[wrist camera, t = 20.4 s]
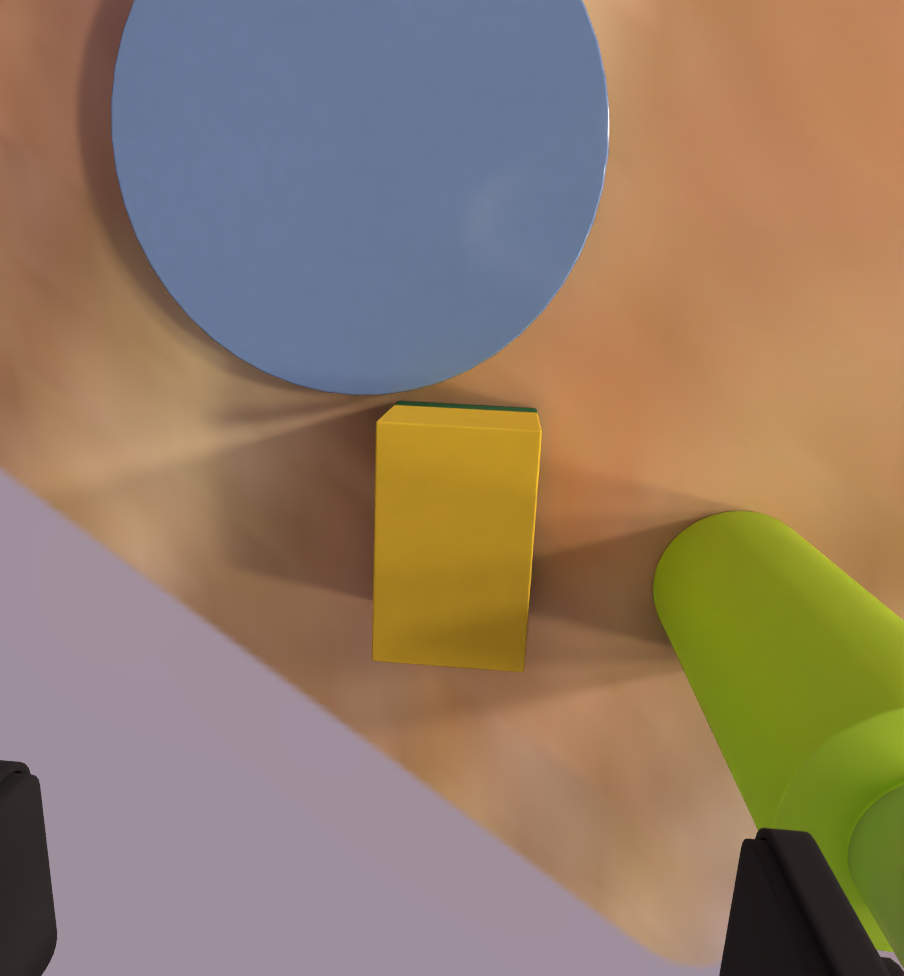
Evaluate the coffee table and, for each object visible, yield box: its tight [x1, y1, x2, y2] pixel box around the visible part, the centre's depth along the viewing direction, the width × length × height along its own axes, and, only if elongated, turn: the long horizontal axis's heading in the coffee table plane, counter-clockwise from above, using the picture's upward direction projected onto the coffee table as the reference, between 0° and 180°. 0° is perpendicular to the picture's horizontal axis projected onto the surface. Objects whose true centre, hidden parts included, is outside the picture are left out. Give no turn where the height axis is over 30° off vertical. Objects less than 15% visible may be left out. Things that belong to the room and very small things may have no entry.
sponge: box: [372, 401, 542, 672], centre depth 25 cm, size 8×5×4 cm, turn 178°
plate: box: [111, 0, 610, 395], centre depth 24 cm, size 16×16×1 cm
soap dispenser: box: [653, 511, 904, 968], centre depth 18 cm, size 6×7×20 cm
